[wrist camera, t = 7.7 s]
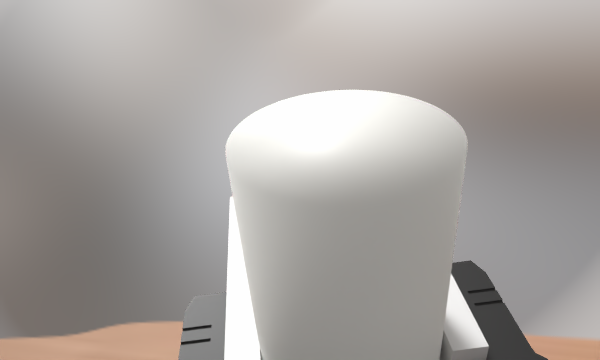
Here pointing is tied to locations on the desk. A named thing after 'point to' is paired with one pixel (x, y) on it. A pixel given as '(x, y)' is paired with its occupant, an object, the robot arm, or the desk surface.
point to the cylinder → (348, 223)
